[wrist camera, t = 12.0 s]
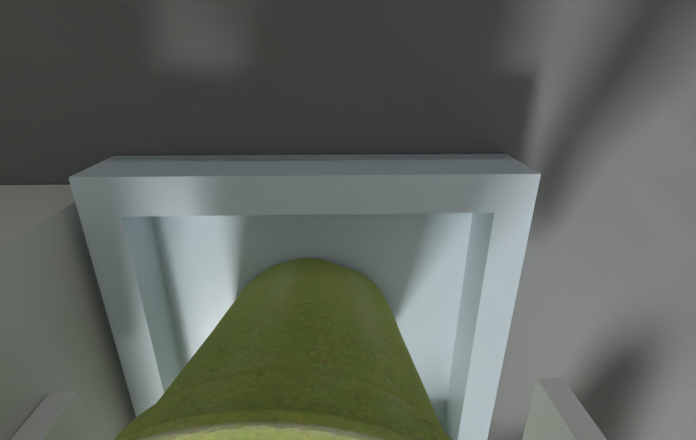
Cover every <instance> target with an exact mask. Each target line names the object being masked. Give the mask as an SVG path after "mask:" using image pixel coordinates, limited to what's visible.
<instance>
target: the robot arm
mask: <svg viewBox="0 0 696 440" xmlns="http://www.w3.org/2000/svg"><path fill="white" fill-rule="evenodd" d="M11 440H95V439H94V436H93V433H92V431H91V428H90V425H89V422H88V419H87V416H86V413H85V411H84V408H83V405H82V402H81V399H80V396H79V393H78V392H50V393H49V394H48V395H47V396H46V397H45V399H44V400H43V401H42V402H41V403H40V405H39V406H38V407H37V408H36V409H35V411H34V412H33V413H32V414H31V415H30V417H29V418H28V419H27V420H26V421H25V423H24V424H23V425H22V426H21V427H20V429H19V430H18V431H17V432H16V433H15V435H14V436H13V437H12V438H11ZM522 440H607V439H606V438H605V436H604V435H603V433H602V432H601V431H600V429H599V428H598V427H597V425H596V424H595V422H594V421H593V420H592V418H591V417H590V415H589V414H588V413H587V411H586V410H585V408H584V407H583V406H582V404H581V403H580V401H579V400H578V399H577V397H576V396H575V394H574V393H573V392H572V390H571V389H570V387H569V386H568V385H567V383H566V382H565V380H564V379H563V378H548V379H537V382H536V386H535V390H534V394H533V398H532V402H531V406H530V410H529V414H528V418H527V422H526V426H525V430H524V434H523V438H522Z"/></svg>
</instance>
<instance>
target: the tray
mask: <svg viewBox="0 0 696 440" xmlns="http://www.w3.org/2000/svg"><path fill="white" fill-rule="evenodd" d="M540 176H541V174H540V173H539V172H537V171H535V170H533V169H532V168H530V167H528V166H526V165H525V164H523V163H521V162H519V161H518V160H516V159H514V158H512V157H511V156H509V155H507V154H358V155H166V156H112V157H110V158H108V159H106V160H104V161H102V162H100V163H97V164H95V165H93V166H91V167H89V168H87V169H85V170H83V171H81V172H78V173H76V174H74V175H72V176H70V177H68V178H69V182H70V185H71V189H72V193H73V196H74V200H75V203H76V207H77V210H78V214H79V217H80V221H81V224H82V228H83V231H84V235H85V238H86V242H87V245H88V249H89V252H90V256H91V260H92V263H93V267H94V270H95V274H96V277H97V281H98V284H99V288H100V291H101V295H102V298H103V302H104V305H105V309H106V312H107V316H108V319H109V323H110V327H111V330H112V334H113V337H114V341H115V344H116V348H117V351H118V355H119V358H120V362H121V365H122V369H123V372H124V376H125V379H126V383H127V386H128V390H129V394H130V397H131V401H132V404H133V408H134V411H135V415H136V417H137V416H139V415H140V414H142V413H143V412H144V411H146V410H147V409H148V408H150V407H151V406H153V405H154V404H156V403H157V401H158V400H159V399H160V398H161V396H162V395H163V394H164V392H165V391H166V390H167V389H168V387H169V386H170V385H171V384H172V382H173V381H174V380H175V378H176V377H177V376H178V375H179V373H180V372H181V371H182V369H183V368H184V367H185V366H186V364H187V363H188V362H189V360H190V359H191V358H192V357H193V355H194V354H195V353H196V351H197V350H198V349H199V348H200V346H201V345H202V344H203V343H204V341H205V340H206V339H207V337H208V336H209V335H210V334H211V332H212V331H213V330H214V328H215V327H216V326H217V324H218V323H219V321H220V320H221V319H222V317H223V316H224V315H225V313H226V312H227V311H228V309H229V308H230V307H231V305H232V304H233V303H234V301H235V300H236V299H237V297H238V296H239V295H240V294H241V292H242V291H243V290H244V288H245V287H246V286H247V285H248V284H249V283H250V282H251V281H252V280H253V279H254V278H255V277H257V276H258V275H259V274H261V273H262V272H264V271H265V270H267V269H269V268H271V267H273V266H275V265H277V264H280V263H284V262H287V261H291V260H297V259H307V258H312V259H323V260H326V261H328V262H331V263H334V264H337V265H339V266H342V267H345V268H347V269H351V270H354V271H357V272H360V273H362V274H363V275H365V276H366V277H368V278H369V279H370V280H371V281H372V282H373V283H374V284H375V285H376V286H377V287H378V288H379V290H380V291H381V292H382V294H383V295H384V297H385V298H386V300H387V302H388V304H389V306H390V309H391V311H392V313H393V316H394V318H395V320H396V323H397V325H398V328H399V330H400V333H401V335H402V338H403V340H404V342H405V344H406V347H407V349H408V351H409V353H410V356H411V358H412V360H413V363H414V365H415V367H416V370H417V372H418V374H419V376H420V378H421V381H422V383H423V385H424V388H425V390H426V392H427V394H428V397H429V399H430V401H431V404H432V406H433V408H434V411H435V413H436V415H437V417H438V420H439V422H440V424H441V427H442V429H443V430H444V431H445V432H446V433H447V434H448V435H449V436H450V438H451V439H452V440H487V438H488V433H489V428H490V423H491V418H492V413H493V408H494V403H495V399H496V394H497V389H498V384H499V379H500V374H501V369H502V364H503V359H504V354H505V349H506V344H507V339H508V334H509V329H510V324H511V320H512V315H513V310H514V305H515V300H516V295H517V290H518V285H519V280H520V275H521V270H522V265H523V260H524V255H525V250H526V246H527V241H528V236H529V231H530V226H531V221H532V216H533V211H534V206H535V201H536V196H537V191H538V186H539V181H540Z"/></svg>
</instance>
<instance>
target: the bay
mask: <svg viewBox="0 0 696 440" xmlns="http://www.w3.org/2000/svg"><path fill="white" fill-rule="evenodd" d="M50 392H78V393H79V396H80V399H81V402H82V405H83V408H84V411H85V413H86V416H87V419H88V422H89V425H90V428H91V431H92V433H93V436H94V439H95V440H114V439H115V438H116V437H117V435H118V434H119V433H120V432H121V431H122V430H123V429H124V428H125V427H126V426H127V425H128V424H129V423H131V422H132V421H133V420H134V419H135V418H136V415H135V411H134V408H133V404H132V401H131V397H130V394H129V390H128V386H127V383H126V379H125V376H124V372H123V369H122V365H121V362H120V358H119V355H118V351H117V348H116V344H115V341H114V337H113V334H112V330H111V327H110V323H109V319H108V316H107V312H106V309H105V305H104V302H103V298H102V295H101V291H100V288H99V284H98V281H97V277H96V274H95V270H94V267H93V263H92V260H91V256H90V252H89V249H88V245H87V242H86V238H85V235H84V231H83V228H82V224H81V221H80V217H79V214H78V210H77V207H76V203H75V200H74V196H73V193H72V189H71V185H0V440H11V438H12V437H13V436H14V435H15V433H16V432H17V431H18V430H19V429H20V427H21V426H22V425H23V424H24V423H25V421H26V420H27V419H28V418H29V417H30V415H31V414H32V413H33V412H34V411H35V409H36V408H37V407H38V406H39V405H40V403H41V402H42V401H43V400H44V399H45V397H46V396H47V395H48V394H49V393H50Z"/></svg>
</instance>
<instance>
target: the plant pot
mask: <svg viewBox="0 0 696 440" xmlns="http://www.w3.org/2000/svg"><path fill="white" fill-rule="evenodd" d="M114 440H452V439H451V438H450V436H449V435H448V434H447V433H446V432H445V431H444V430H443V429H442V427H441V424H440V422H439V420H438V417H437V415H436V413H435V411H434V408H433V406H432V404H431V401H430V399H429V397H428V394H427V392H426V390H425V388H424V385H423V383H422V381H421V378H420V376H419V374H418V372H417V370H416V367H415V365H414V363H413V360H412V358H411V356H410V353H409V351H408V349H407V347H406V344H405V342H404V340H403V338H402V335H401V333H400V330H399V328H398V325H397V323H396V320H395V318H394V316H393V313H392V311H391V309H390V306H389V304H388V302H387V300H386V298H385V297H384V295H383V294H382V292H381V291H380V290H379V288H378V287H377V286H376V285H375V284H374V283H373V282H372V281H371V280H370V279H369V278H368V277H366V276H365V275H363V274H362V273H360V272H357V271H354V270H351V269H347V268H345V267H342V266H339V265H337V264H334V263H331V262H328V261H326V260H323V259H312V258H307V259H297V260H291V261H287V262H284V263H280V264H277V265H275V266H273V267H271V268H269V269H267V270H265V271H264V272H262V273H261V274H259V275H258V276H257V277H255V278H254V279H253V280H252V281H251V282H250V283H249V284H248V285H247V286H246V287H245V288H244V290H243V291H242V292H241V294H240V295H239V296H238V297H237V299H236V300H235V301H234V303H233V304H232V305H231V307H230V308H229V309H228V311H227V312H226V313H225V315H224V316H223V317H222V319H221V320H220V321H219V323H218V324H217V326H216V327H215V328H214V330H213V331H212V332H211V334H210V335H209V336H208V337H207V339H206V340H205V341H204V343H203V344H202V345H201V346H200V348H199V349H198V350H197V351H196V353H195V354H194V355H193V357H192V358H191V359H190V360H189V362H188V363H187V364H186V366H185V367H184V368H183V369H182V371H181V372H180V373H179V375H178V376H177V377H176V378H175V380H174V381H173V382H172V384H171V385H170V386H169V387H168V389H167V390H166V391H165V392H164V394H163V395H162V396H161V398H160V399H159V400H158V401H157V403H156V404H154V405H153V406H151V407H150V408H148V409H147V410H146V411H144V412H143V413H142V414H140V415H139V416H137V417H136V418H135V419H134V420H133V421H132V422H131V423H129V424H128V425H127V426H126V427H125V428H124V429H123V430H122V431H121V432H120V433H119V434H118V435H117V437H116V438H115V439H114Z"/></svg>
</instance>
